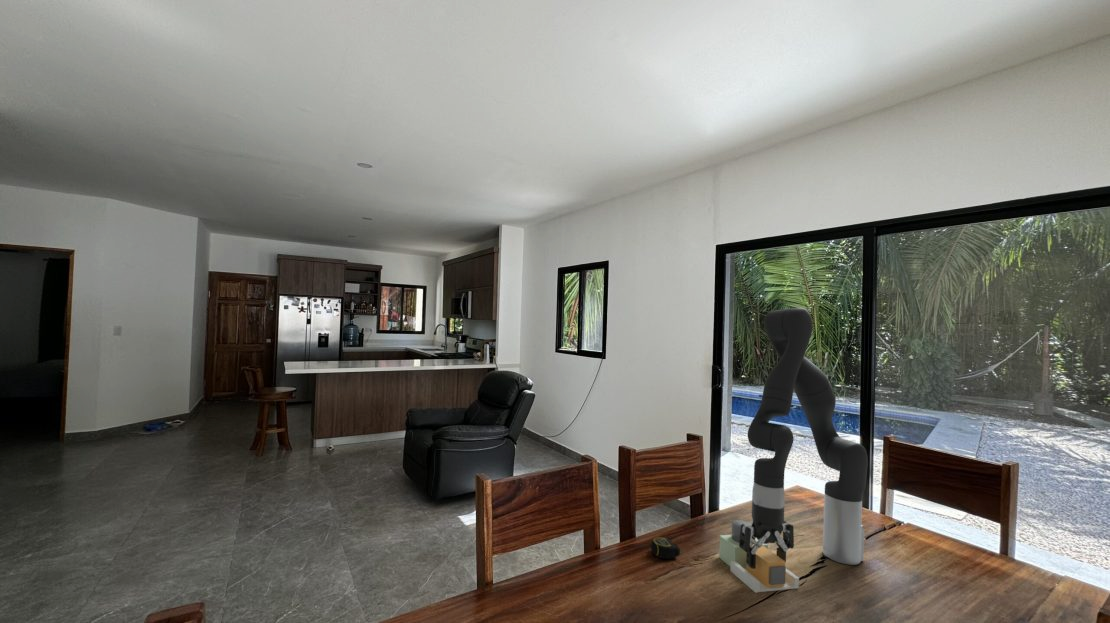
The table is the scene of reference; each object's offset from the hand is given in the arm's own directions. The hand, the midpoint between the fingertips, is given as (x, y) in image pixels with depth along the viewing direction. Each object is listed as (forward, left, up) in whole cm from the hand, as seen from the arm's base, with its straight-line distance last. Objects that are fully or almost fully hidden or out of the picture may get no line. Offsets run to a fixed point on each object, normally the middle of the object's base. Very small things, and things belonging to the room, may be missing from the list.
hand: (765, 565), depth 119 cm
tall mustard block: (0, 0, -3) cm, 3 cm away
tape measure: (+20, -17, -4) cm, 26 cm away
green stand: (0, -4, -4) cm, 6 cm away
